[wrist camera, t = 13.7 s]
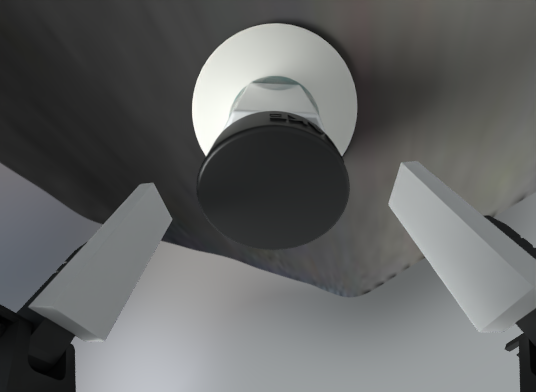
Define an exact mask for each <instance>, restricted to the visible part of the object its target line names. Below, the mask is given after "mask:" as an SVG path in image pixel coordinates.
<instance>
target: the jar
mask: <svg viewBox="0 0 536 392" xmlns="http://www.w3.org/2000/svg"><path fill="white" fill-rule="evenodd" d="M349 191H350V184H349V177H348V173H347V169H346V167H345V165H344V161H343V158H342V156H341V154H340V152H339V151H338V149H337V147H336V146H335V144H334V143H333V142H332V140H331V139H330V138H329V136H328V135H327V134H326V131H325V129H324V126H323V123H322V121H321V118H320V116H319V114H318V112H317V111H316V109H315V108H314V106H313V104H312V103H311V101H310V100H309V98H308V97H307V95H306V93H305V92H304V90H303V89H302V87H301V86H300V85H291V84H265V83H249V84H248V85H247V87H246V88H245V90H244V92H243V94H242V95H241V97H240V99H239V101H238V102H237V104H236V106H235V107H234V109H233V111H232V113H231V115H230V117H229V119H228V121H227V123H226V125H225V127H224V129H223V131H222V133H221V134H220V135H219V136H218V138H217V139H216V140H215V142H214V144H213V146H212V147H211V149H210V151H209V152H208V154H207V156H206V158H205V159H204V161H203V163H202V165H201V167H200V170H199V173H198V178H197V197H198V202H199V205H200V207H201V210H202V212H203V213H204V215H205V217H206V218H207V220H208V221H209V222H210V223H211V225H212V226H213V227H214V228H215V229H216V230H218V231H219V232H220V233H221V234H223V235H224V236H226V237H227V238H229V239H231V240H233V241H235V242H237V243H239V244H242V245H245V246H248V247H252V248H257V249H265V250H281V249H289V248H294V247H298V246H301V245H304V244H307V243H309V242H311V241H313V240H315V239H317V238H319V237H320V236H322V235H323V234H325V233H326V232H327V231H328V230H330V229H331V228H332V227H333V226H334V225H335V224H336V222H337V221H338V220H339V218H340V217H341V215H342V214H343V212H344V210H345V208H346V205H347V202H348V198H349Z"/></svg>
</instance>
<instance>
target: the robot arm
mask: <svg viewBox="0 0 536 392" xmlns="http://www.w3.org/2000/svg"><path fill="white" fill-rule="evenodd" d="M388 205H389V206H390V208H391V209H392V211H393V212H394V213H395V215H396V216H397V218H398V219H399V220H400V222H401V223H402V225H403V226H404V227H405V229H406V230H407V232H408V233H409V235H410V236H411V237H412V239H413V240H414V242H415V243H416V244H417V246H418V247H419V249H420V250H421V252H422V253H423V254H424V256H425V257H426V259H427V260H428V261H429V263H430V264H431V266H432V267H433V268H434V270H435V271H436V273H437V274H438V276H439V277H440V278H441V280H442V281H443V283H444V284H445V285H446V287H447V288H448V290H449V291H450V292H451V294H452V295H453V297H454V298H455V300H456V301H457V302H458V304H459V305H460V307H461V308H462V309H463V311H464V312H465V314H466V315H467V316H468V318H469V319H470V321H471V322H472V324H473V325H474V326H475V328H476V329H477V331H478V332H504V331H506V330H507V329H509V328H510V327H511V326H513V325H514V324H517V325H518V327H519V328H520V329H521V330H522V331H523V332H524V333H523V334H521V335H520V336H518V337H516V338H515V339H513V340H512V341H510V342H509V343H507V344H506V347H505V349H506V350H507V351H511V350H513V349H515V348H517V347H518V346H519V353H518V354H517V356H518V357H519V361H520V392H536V248H533V246H532V244H530V243H529V242H528V241H527V240H525V239H524V238H521V237H520V235H519V234H517V233H516V232H515V231H514V230H512V229H511V228H510V227H509V226H507V225H506V224H504V223H502V222H500V221H498V220H496V219H494V218H493V217H491V216H483V215H482V214H480V213H479V212H478V211H477V210H476V209H474V208H473V207H472V206H471V205H470V204H468V203H467V202H466V201H465V200H464V199H462V198H461V197H460V196H459V195H458V194H456V193H455V192H454V191H453V190H451V189H450V188H449V187H448V186H447V185H445V184H444V183H443V182H442V181H441V180H439V179H438V178H437V177H436V176H435V175H433V174H432V173H431V172H430V171H429V170H427V169H426V168H425V167H424V166H423V165H421V164H420V163H419V162H418V161H411V162H401V165H400V168H399V171H398V175H397V178H396V181H395V184H394V188H393V191H392V194H391V197H390V200H389V204H388ZM171 221H172V218H171V216H170V214H169V212H168V210H167V208H166V206H165V204H164V202H163V200H162V199H161V197H160V195H159V193H158V191H157V189H156V187H155V185H154V183H148V184H140V185H139V186H138V187H137V188H136V189H135V190H134V192H133V193H132V194H131V195H130V196H129V197H128V198H127V199H126V200H125V201H124V203H123V204H122V205H121V206H120V207H119V208H118V209H117V210H116V211H115V212H114V213H113V215H112V216H111V217H110V218H109V219H108V220H107V221H106V222H105V223H104V224H103V226H102V227H101V228H100V229H99V230H98V231H97V232H96V233H95V234H94V235H93V236H92V237H91V239H90V240H89V241H88V242H86V243H85V244H84V245H82V246H81V247H79V248H78V249H77V250H75V251H74V252H73V253H72V254H71V255H70V256H69V258H68V259H67V260H66V261H65V263H64V264H62V265H61V266H60V267H59V268H58V269H57V271H56V273H54V274H53V275H52V276H51V277H50V278H49V279H48V280H47V281H46V282H45V283H44V285H42V287H40V289H39V290H38V291H37V292H36V293H35V294H34V295H33V296H32V297H31V298H30V299H29V300H28V301H27V302H26V303H25V305H24V306H23V307H22V308H21V309H20V310H19V311H18V312H17V313H15V312H13V311H11V310H9V309H8V308H6V307H4V306H2V305H0V392H76V385H75V349H74V346H73V345H72V344H70V343H71V341H72V340H73V338H74V337H75V336H77V337H78V338H80V339H82V340H83V341H85V342H99V341H100V342H102V341H105V340H106V338H107V336H108V334H109V333H110V331H111V329H112V327H113V325H114V324H115V322H116V320H117V318H118V316H119V315H120V313H121V311H122V309H123V307H124V306H125V304H126V302H127V300H128V298H129V297H130V295H131V293H132V291H133V289H134V288H135V286H136V284H137V282H138V280H139V279H140V277H141V275H142V273H143V271H144V270H145V268H146V266H147V264H148V262H149V261H150V259H151V257H152V255H153V253H154V252H155V250H156V248H157V246H158V244H159V242H160V241H161V239H162V237H163V235H164V234H165V232H166V230H167V228H168V226H169V225H170V223H171Z"/></svg>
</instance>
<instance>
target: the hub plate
mask: <svg viewBox="0 0 536 392" xmlns="http://www.w3.org/2000/svg"><path fill="white" fill-rule="evenodd" d="M249 83H265V84H291V85H300V86H301V87H302V89H303V90H304V92H305V93H306V95H307V97H308V98H309V100H310V101H311V103H312V104H313V106H314V108H315V109H316V111H317V112H318V114H319V116H320V118H321V121H322V123H323V126H324V129H325V131H326V134H327V135H328V136H329V138H330V139H331V140H332V142H333V143H334V144H335V146H336V147H337V149H338V151H339V152H340V154H341V156H342V155H343V154H344V152H345V151H346V149H347V147H348V145H349V143H350V141H351V138H352V135H353V132H354V129H355V124H356V119H357V95H356V90H355V85H354V82H353V79H352V76H351V73H350V71H349V69H348V67H347V66H346V64H345V62H344V60H343V59H342V58H341V56H340V55H339V54H338V52H337V51H336V50H335V49H334V48H333V47H332V46H331V45H330V44H329V43H328V42H327V41H325V40H324V39H322V38H321V37H320V36H318V35H317V34H315V33H313V32H310V31H308V30H306V29H304V28H301V27H297V26H294V25H288V24H280V23H276V24H263V25H258V26H254V27H250V28H248V29H246V30H243V31H241V32H238V33H237V34H235V35H234V36H232V37H230V38H229V39H227V40H226V41H225V42H224V43H222V44H221V45H220V46H219V47H218V48H217V49H216V50H215V51H214V52H213V54H212V55H211V56H210V57H209V58H208V60H207V62H206V63H205V65H204V66H203V68H202V70H201V72H200V75H199V77H198V79H197V82H196V86H195V89H194V95H193V102H192V116H193V124H194V129H195V133H196V136H197V139H198V141H199V144H200V146H201V148H202V150H203V152H204V154H205V155H206V156H207V154H208V152H209V151H210V149H211V147H212V146H213V144H214V142H215V140H216V139H217V138H218V136H219V135H220V134H221V133H222V131H223V129H224V127H225V125H226V123H227V121H228V119H229V117H230V115H231V113H232V111H233V109H234V107H235V106H236V104H237V102H238V101H239V99H240V97H241V95H242V94H243V92H244V90H245V88H246V87H247V85H248V84H249Z"/></svg>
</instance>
